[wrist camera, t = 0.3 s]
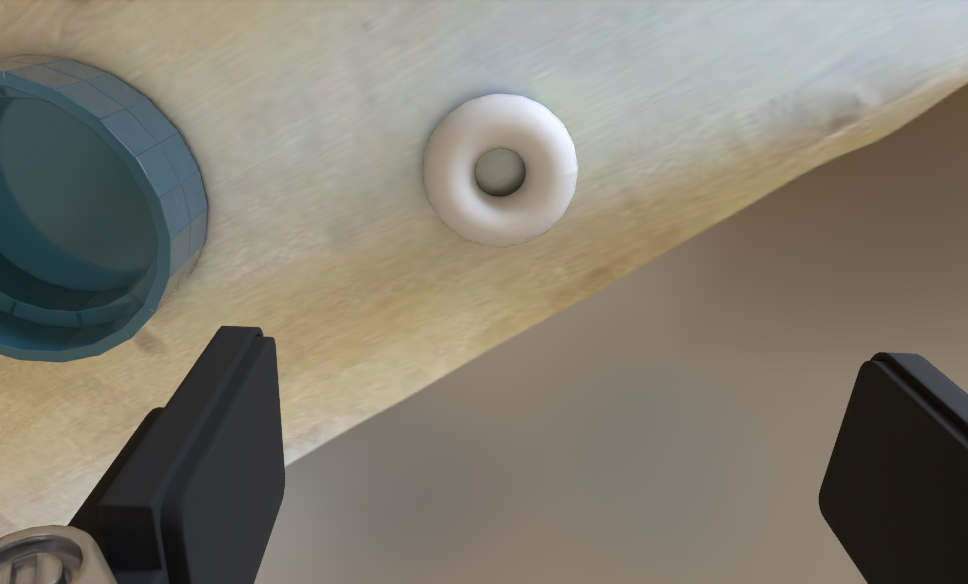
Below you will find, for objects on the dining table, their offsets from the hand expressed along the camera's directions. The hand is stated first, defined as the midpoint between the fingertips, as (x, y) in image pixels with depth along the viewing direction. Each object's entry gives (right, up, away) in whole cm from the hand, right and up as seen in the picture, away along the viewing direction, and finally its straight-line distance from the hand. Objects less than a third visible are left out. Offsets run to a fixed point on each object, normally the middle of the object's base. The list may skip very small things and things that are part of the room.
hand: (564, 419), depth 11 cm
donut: (0, +10, +35) cm, 37 cm away
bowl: (-29, +9, +35) cm, 46 cm away
